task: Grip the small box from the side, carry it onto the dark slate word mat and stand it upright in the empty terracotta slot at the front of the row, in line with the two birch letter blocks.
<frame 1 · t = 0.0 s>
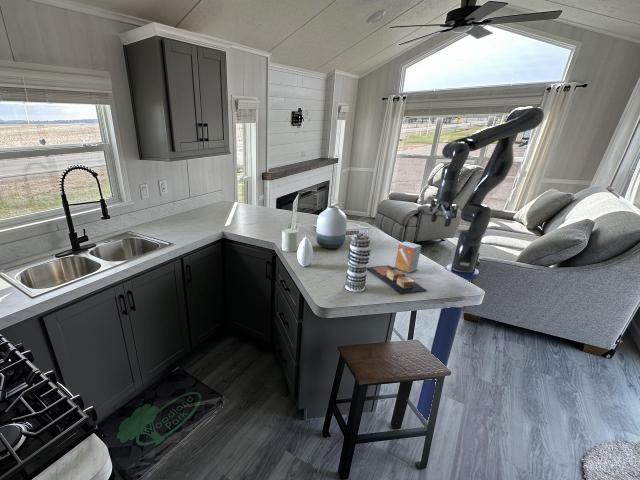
hand: (439, 224, 154), 23 cm above the countertop, tool pointing down, fingers open, 8 cm apart
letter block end: (404, 285, 147), resting on word mat
white teardrop ornament: (304, 266, 172), on the countertop
can: (289, 249, 195), on the countertop
small box: (405, 269, 164), on the countertop
vase: (329, 246, 198), on the countertop
decorative candle: (354, 288, 147), on the countertop
letter block middle: (394, 277, 154), resting on word mat
word mat: (394, 278, 154), on the countertop
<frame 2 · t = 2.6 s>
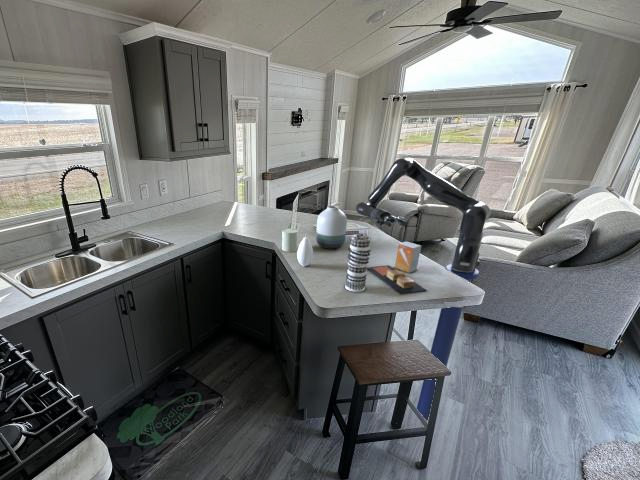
hand: (398, 224, 166), 20 cm above the countertop, tool horizontal, fingers open, 8 cm apart
nothing on the countertop moved.
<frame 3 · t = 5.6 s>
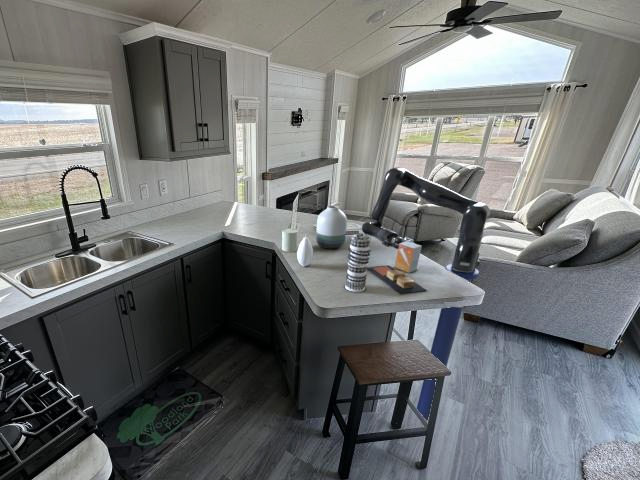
hand: (406, 246, 162), 11 cm above the countertop, tool horizontal, fingers open, 8 cm apart
small box: (405, 269, 164), on the countertop, touching gripper
everything else where it was.
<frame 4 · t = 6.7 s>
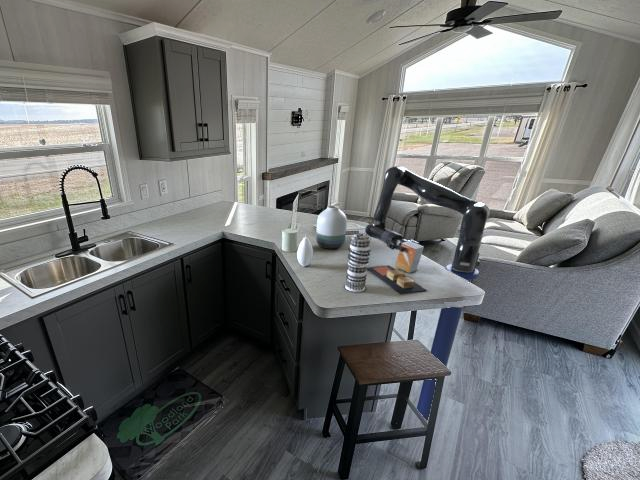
hand: (411, 249, 158), 11 cm above the countertop, tool horizontal, fingers closed on small box, 8 cm apart
small box: (405, 268, 164), on the countertop, touching gripper
everything else where it was.
when the fingers open (12 cm above the countertop, at t = 13.1 s): small box stays where it is, resting on word mat.
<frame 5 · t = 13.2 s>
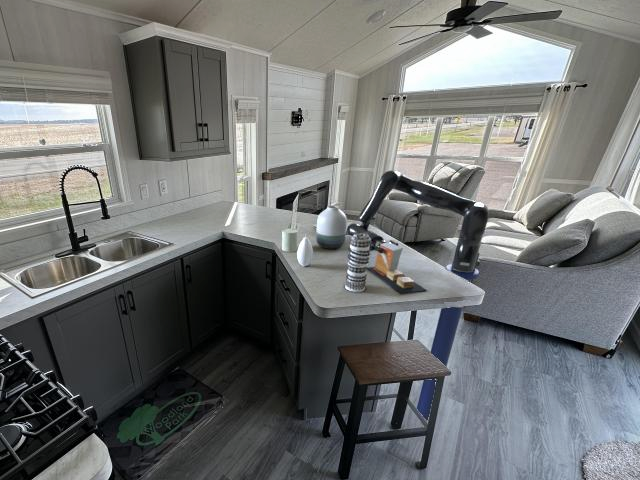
hand: (390, 250, 155), 12 cm above the countertop, tool horizontal, fingers open, 8 cm apart
small box: (384, 270, 161), point 1 cm above the countertop, touching gripper, word mat
everything else where it was.
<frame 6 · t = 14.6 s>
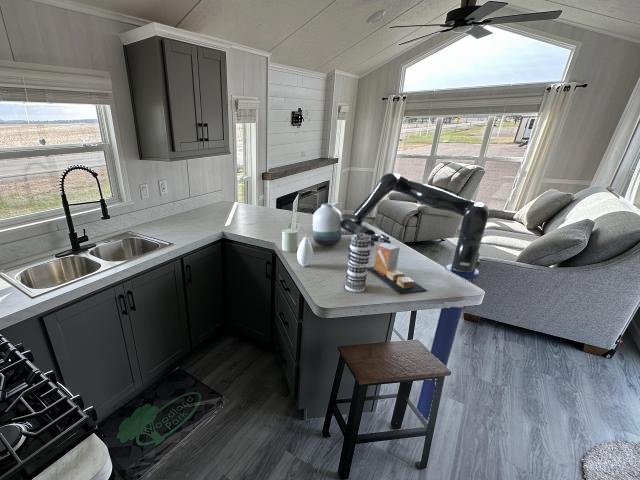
hand: (381, 243, 161), 13 cm above the countertop, tool horizontal, fingers open, 8 cm apart
small box: (384, 271, 161), point 1 cm above the countertop, touching word mat
vase: (327, 243, 200), point 1 cm above the countertop, touching arm
everything else where it was.
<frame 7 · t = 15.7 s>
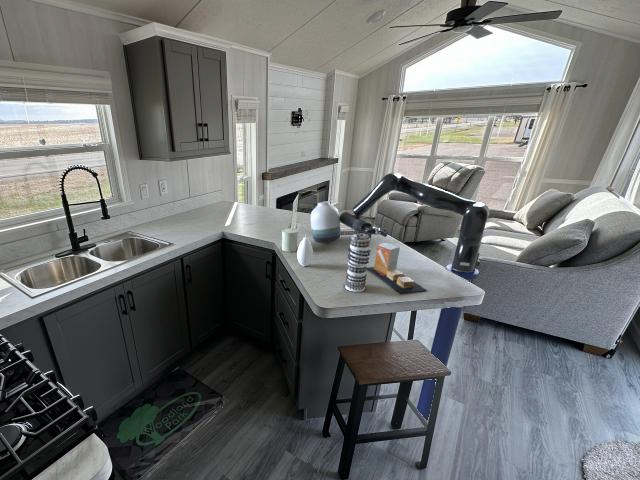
hand: (378, 235, 165), 15 cm above the countertop, tool horizontal, fingers open, 8 cm apart
vase: (327, 241, 201), point 1 cm above the countertop
everything else where it was.
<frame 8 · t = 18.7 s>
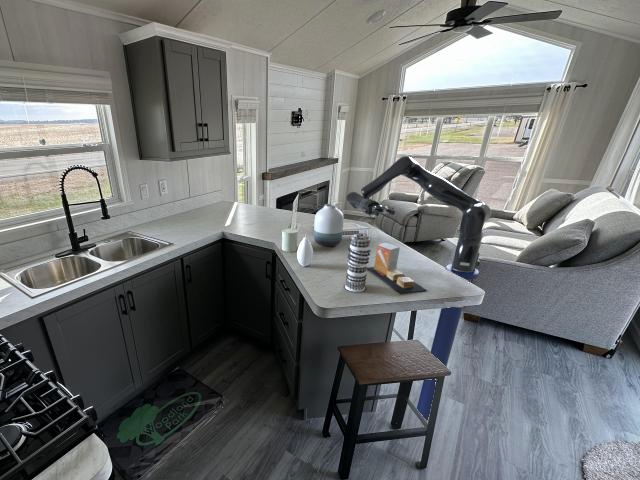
hand: (386, 213, 164), 26 cm above the countertop, tool horizontal, fingers open, 8 cm apart
vase: (327, 243, 202), on the countertop
everything else where it was.
at the end: small box 0.1 cm from the target spot, point 0.5 cm above the countertop; small box tilted 0°; letter block middle moved 0.0 cm from its start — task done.
